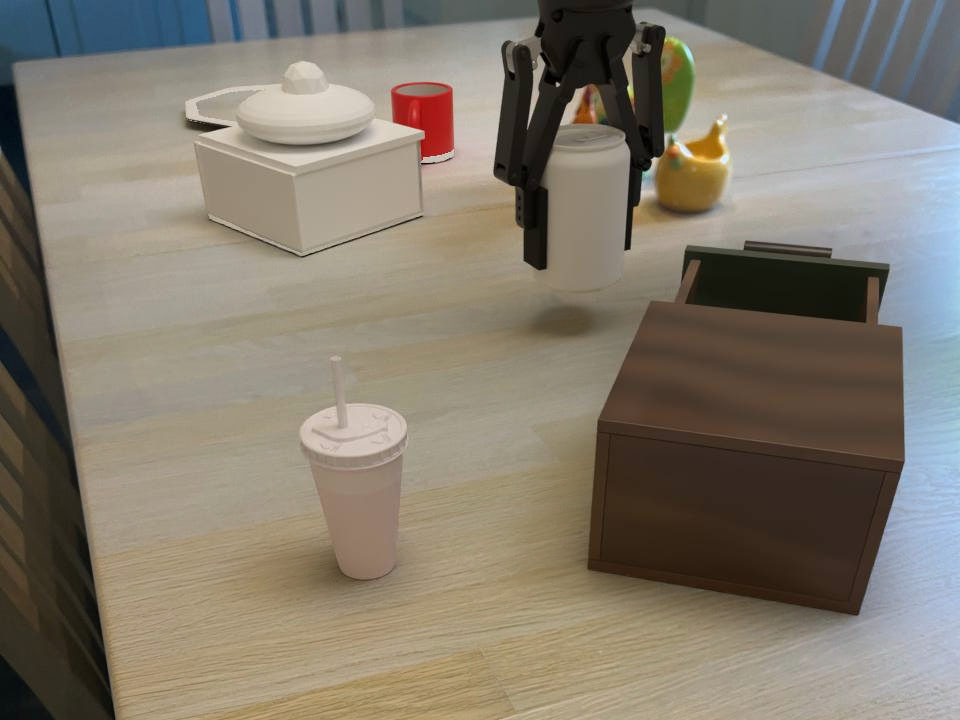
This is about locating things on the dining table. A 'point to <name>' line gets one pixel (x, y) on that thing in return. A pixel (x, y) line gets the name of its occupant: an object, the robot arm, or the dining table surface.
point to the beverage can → (585, 208)
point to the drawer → (783, 281)
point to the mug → (426, 114)
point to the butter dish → (310, 164)
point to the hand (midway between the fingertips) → (577, 254)
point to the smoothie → (357, 478)
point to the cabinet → (750, 454)
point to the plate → (191, 104)
